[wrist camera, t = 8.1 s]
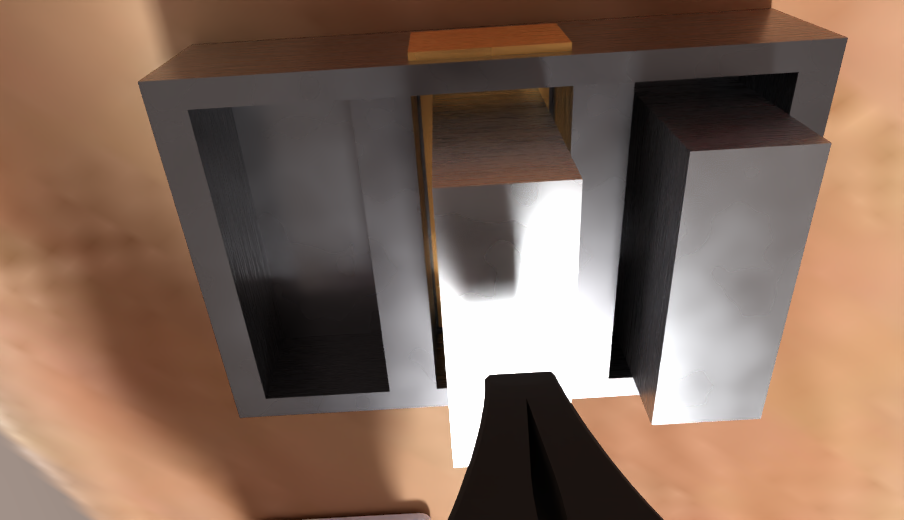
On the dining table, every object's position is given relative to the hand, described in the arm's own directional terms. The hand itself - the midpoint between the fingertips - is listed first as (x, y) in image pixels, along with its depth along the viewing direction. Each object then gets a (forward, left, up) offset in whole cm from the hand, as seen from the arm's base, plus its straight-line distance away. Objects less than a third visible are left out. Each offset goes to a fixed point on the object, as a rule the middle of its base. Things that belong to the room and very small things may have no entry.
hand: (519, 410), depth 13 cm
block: (0, 0, -9) cm, 9 cm away
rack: (0, 0, -10) cm, 10 cm away
